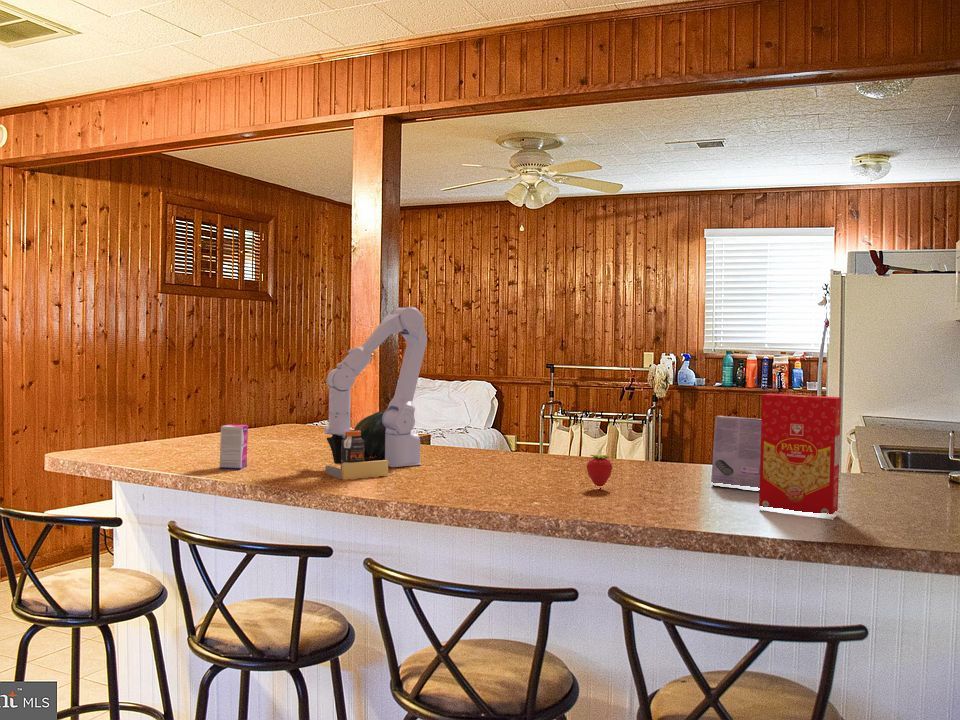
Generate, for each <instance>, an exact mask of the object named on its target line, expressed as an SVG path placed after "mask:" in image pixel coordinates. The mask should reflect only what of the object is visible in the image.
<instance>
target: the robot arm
mask: <svg viewBox="0 0 960 720" xmlns="http://www.w3.org/2000/svg"><path fill="white" fill-rule="evenodd" d="M396 333H399V334H401V336H402V337H403V339H404V340H405V342H406V347H405V351H404V354H403V359H402V363H401V368H400V371H399V375H398V379H397V383H396V388H395V392H394V395H393V398H392V399H391V400H390V402H389V403H388V406H387V409H386V411H385V410H384V411H385V412H384V414H383V417H382V422H383V425H384V426H385V427H386V431H385V459H384V460H388V468H389V467H390V468H398V467H413V466H421V465H422V462H421V439H420V436H419V434H418V433H416V432H412V430H413V429H414V427H415V425H416V420H415V410H416V407H415V404H414V401H413V400H414V396H415V393H416V388H417V385H418V381H419V377H420V372H421V367H422V364H423V360H424V356H425V352H426V347H427V343H428V337H427V331H426V328H425V317H424V316H423V314H422V313H421V311H420V310H419V309H418V308H417V307H415V306H408V307H395V308H392V310H391V311H390V313H389V314H387V315H386V316H385V317H384V318H383V319H382V321H381V322H380V323H379V325H378V326H377V327H376V328H375V330H374V331H373V332H372V333H371V334H370V336H369V337H368V338H367V339H366V341H364V343H363V344H362V345H361V346H354V348H350V349H349V350H347V353H348V354H347V355H346V356H345V357H344V358H343V360H342V361H341V362H338V363H337V364H336V367H337V368H334V369H332V370H330V371H329V373H328V374H327V377H326V378H325V382H326V384H327V387H328V388H329V389H328V390H329V393H328V394H329V395H328V426H325V427H324V434H325V435H331V437H329V436H328V437H326V441H327V442H328V445H329V446H330V451H331V454H332V459H333V462H334V464H335V465H341V442H342V440H343V439H344V438H345V437H346V436H345V431H346V430H352V429H351V399H352V397H351V388H352V387H353V386H354V384H355V379H356V378H357V377H358V376H359V375H360V374H361V372H363V371H364V369H365V368H367V366H368V365H369V364H370V363H371V362H372V361H371V360H372V358H371V357H372V354H373V353H374V352H375V350H377V349H378V348H379V347H380V345H382V343H384V342H385V341H386V340H387V338H388V337H389V336H390V335H392V334H396Z"/></svg>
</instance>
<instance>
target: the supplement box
mask: <svg viewBox="0 0 960 720" xmlns="http://www.w3.org/2000/svg"><path fill="white" fill-rule="evenodd" d="M248 433H249V425H248V424H230V423H227V424H225V425H221V426H220V445H219V446H220V448H219V449H220V450H219V470H223V471H227V470H231V471H232V470H233V471H239V470H242V469H244V468H246V467H247V466H248V465H247V464H248V438H249V437H248V435H249V434H248Z"/></svg>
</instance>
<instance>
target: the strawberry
mask: <svg viewBox="0 0 960 720" xmlns="http://www.w3.org/2000/svg"><path fill="white" fill-rule="evenodd" d="M598 450H599V452H600V455H597V454H590V455H589V456H590V457H591V459H589V461H588V462H587V465H586V470H587V474H588V477H589V479H590V480H591V482H592V483H593V484H594V486H596V485H597V486H603V485H604V486H605V484H607V482H608V480H609V479H610V476H611V474H612V471H613V464H612V462H611V460H609V459H610V456H607V454H606V455H605V454H602V451H601V450H600V449H598ZM604 486H603V487H604Z"/></svg>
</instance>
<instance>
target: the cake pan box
mask: <svg viewBox="0 0 960 720" xmlns="http://www.w3.org/2000/svg"><path fill="white" fill-rule="evenodd" d="M714 421H715V423H714V434H713V435H714V437H713V448H712V465H711V478H710V479H711V480H710V483H711V482H713V483H723V484H731V485H740V486H750V487H758V488H760V454H761V418H755V417H753V418H752V417H750V418H748V417H738V416H729V415H727V416H726V415H725V416H724V415H716V416H715V420H714Z"/></svg>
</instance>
